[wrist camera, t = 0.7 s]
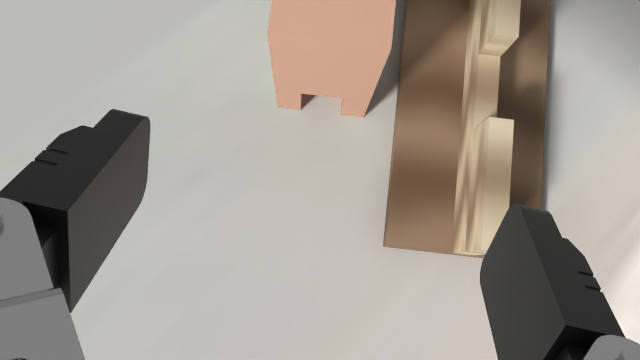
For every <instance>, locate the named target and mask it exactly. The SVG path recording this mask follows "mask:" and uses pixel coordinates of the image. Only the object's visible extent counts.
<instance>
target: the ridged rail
mask: <svg viewBox="0 0 640 360" xmlns="http://www.w3.org/2000/svg"><path fill="white" fill-rule="evenodd" d="M549 20H550V0H406V7H405V18H404V29H403V39H402V50H401V61H400V71H399V82H398V93H397V104H396V114H395V125H394V136H393V146H392V157H391V168H390V179H389V189H388V200H387V211H386V221H385V232H384V243H383V247H392V248H401V249H409V250H418V251H427V252H435V253H444V254H453V255H461V256H470V257H479V258H484V257H485V254H486V252H487V250H488V248H489V246H490V244H491V242H492V240H493V238H494V236H495V234H496V232H497V230H498V228H499V226H500V224H501V222H502V220H503V218H504V216H505V214H506V212H507V211H508V209H509V208H510V207H511V206H512V205H514V204H518V205H522V206H526V207H530V208H535V209H539V210H541V190H542V169H543V148H544V127H545V105H546V84H547V63H548V41H549Z"/></svg>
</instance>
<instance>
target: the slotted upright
mask: <svg viewBox="0 0 640 360" xmlns="http://www.w3.org/2000/svg"><path fill="white" fill-rule="evenodd" d="M395 6H396V0H272V5H271V12H270V19H269V27H268V41H269V48H270V56H271V63H272V70H273V77H274V84H275V91H276V98H277V105H278V107H281V108H289V109H298V110H301V103H302V95H303V94H309V95H318V96H326V97H335V98H343V99H342V108H341V115H348V116H357V117H364V115H365V113H366V110H367V108H368V105H369V103H370V100H371V98H372V95H373V93H374V90H375V88H376V86H377V83H378V81H379V78H380V76H381V73H382V71H383V68H384V66H385V63H386V61H387V58H388V56H389V54H390V51H391V47H392V37H393V26H394V16H395Z"/></svg>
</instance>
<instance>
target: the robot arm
mask: <svg viewBox="0 0 640 360" xmlns="http://www.w3.org/2000/svg"><path fill="white" fill-rule="evenodd" d="M149 141H150V120H149V118H148V117H145V116H141V115H137V114H133V113H128V112H124V111H120V110H116V109H112V110H110V111H109V112H108V113H107V114H106V115H105V116H104V117H103V118H102V119H101V120H100V121H99V122H98V123H97V124H96V125H95V127H94V128H91V127H87V126H83V125H82V126H79V127H77V128H75V129H72V130H70V131H67V132H65V133H63V134H60V135H59V136H58V137H57V138H56V139H55V140H54V141H53V142H52V143H51V144H50V145H49V146H48V147H46V151H45V150H43V151H42V152H41V153H40V154H39V155H38V156H37V157H36V158H35V161H34V162H33V161H32V162H31V163H30V164H29V165H28V166H26V167H25V168H24V169H23V170H22V171H21V172H20V173H19V174H18V175H17V176H16V177H15V178H14V179H13V180H12V181H11V182H10V183H9V184H7V185H6V186H5V187H4V188H3V189H2V190H1V191H0V360H85V358H84V355H83V352H82V349H81V346H80V343H79V340H78V337H77V333H76V330H75V327H74V324H73V321H72V318H71V315H70V313H71V312H72V310H73V309H74V307H75V306H76V304H77V303H78V301H79V299H80V298H81V296H82V295H83V293H84V292H85V290H86V288H87V287H88V285H89V284H90V282H91V281H92V279H93V277H94V276H95V274H96V273H97V271H98V270H99V268H100V266H101V265H102V263H103V262H104V260H105V259H106V257H107V255H108V254H109V252H110V251H111V249H112V248H113V246H114V244H115V243H116V241H117V240H118V238H119V237H120V235H121V233H122V232H123V230H124V229H125V227H126V226H127V224H128V222H129V221H130V219H131V218H132V216H133V215H134V213H135V211H136V210H137V208H138V207H139V205H140V203H141V201H142V198H143V195H144V192H145V188H146V183H147V174H148V157H149ZM480 284H481V289H482V293H483V297H484V302H485V306H486V310H487V314H488V318H489V323H490V327H491V331H492V335H493V339H494V344H495V348H496V352H497V356H498V360H640V344H638V343H636V342H634V341H632V340H630V339H627V338H625V336H624V334H623V332H622V330H621V328H620V326H619V324H618V322H617V320H616V318H615V316H614V314H613V312H612V310H611V308H610V306H609V304H608V302H607V300H606V298H605V296H604V294H603V293H602V292H600V289H601V288H600V286H599V284H598V282H597V280H596V278H594V277H593V272H592V270H591V268H590V266H589V264H588V262H587V260H586V258H585V256H584V255H583V254H582V253H581V252H580V251H579V250H578V249H577V248H576V247H575V246H574V245H573V244H572V243H571V242H570V241H569V240H568V239H565V238H562V236H561V234H560V232H559V230H558V228H557V226H556V223H555V221H554V219H553V217H552V215H551V214H550V213H549V212H547V211H543V210H539V209H535V208H530V207H526V206H522V205H518V204H514V205H512V206H511V207H510V208H509V209H508V211H507V212H506V214H505V216H504V218H503V220H502V222H501V224H500V226H499V228H498V230H497V232H496V234H495V236H494V238H493V240H492V242H491V244H490V246H489V248H488V250H487V252H486V254H485V257H484V259H483V262H482V266H481V271H480Z"/></svg>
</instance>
